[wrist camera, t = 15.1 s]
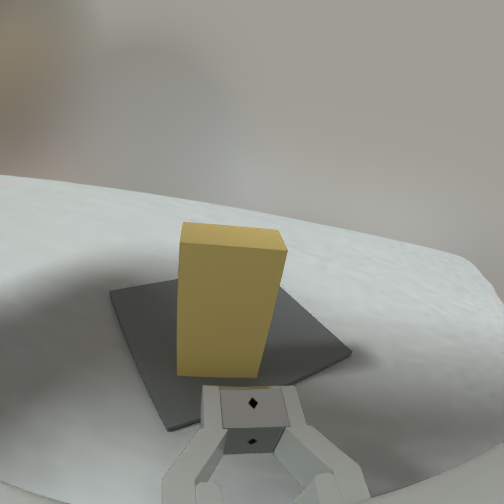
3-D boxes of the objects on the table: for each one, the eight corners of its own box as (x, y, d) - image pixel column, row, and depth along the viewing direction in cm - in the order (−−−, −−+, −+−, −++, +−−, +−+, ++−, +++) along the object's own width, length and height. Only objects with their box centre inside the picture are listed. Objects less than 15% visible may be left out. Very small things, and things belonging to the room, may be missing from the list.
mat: (167, 431, 16) (167, 428, 16) (110, 294, 26) (109, 291, 25) (350, 355, 24) (352, 351, 24) (255, 268, 34) (255, 264, 33)
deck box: (256, 377, 20) (287, 250, 16) (176, 375, 19) (179, 242, 15) (252, 352, 22) (277, 229, 18) (178, 349, 21) (183, 222, 17)
